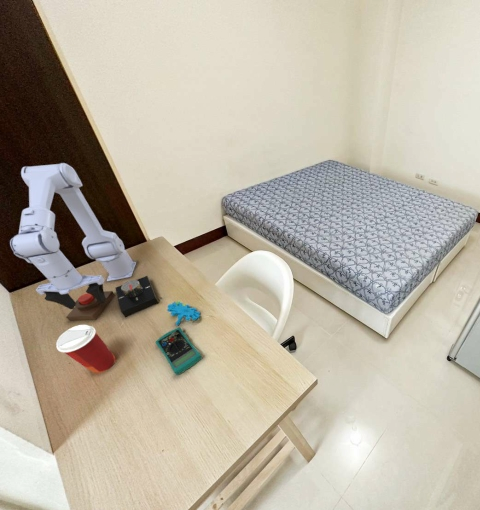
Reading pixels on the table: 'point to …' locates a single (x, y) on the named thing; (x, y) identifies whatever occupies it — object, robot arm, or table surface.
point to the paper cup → (86, 348)
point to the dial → (132, 288)
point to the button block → (89, 309)
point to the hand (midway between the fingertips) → (88, 303)
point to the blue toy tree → (183, 311)
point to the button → (85, 299)
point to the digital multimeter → (178, 350)
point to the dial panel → (137, 298)
